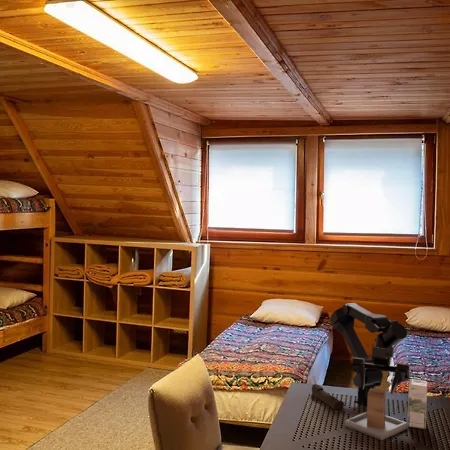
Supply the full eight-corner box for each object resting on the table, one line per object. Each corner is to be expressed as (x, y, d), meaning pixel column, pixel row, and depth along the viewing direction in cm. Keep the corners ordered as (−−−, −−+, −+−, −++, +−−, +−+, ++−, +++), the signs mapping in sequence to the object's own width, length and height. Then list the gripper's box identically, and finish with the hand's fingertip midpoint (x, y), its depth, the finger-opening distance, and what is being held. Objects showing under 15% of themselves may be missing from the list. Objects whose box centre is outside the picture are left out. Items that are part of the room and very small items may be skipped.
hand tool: (344, 411, 200) (344, 398, 199) (334, 413, 198) (334, 399, 198) (318, 393, 218) (319, 381, 217) (309, 394, 216) (309, 382, 216)
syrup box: (425, 423, 190) (427, 380, 189) (425, 429, 184) (427, 385, 184) (407, 420, 192) (408, 378, 191) (407, 427, 186) (408, 383, 185)
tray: (370, 415, 196) (370, 410, 195) (407, 428, 185) (407, 422, 185) (345, 426, 186) (345, 420, 186) (382, 440, 176) (382, 434, 176)
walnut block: (369, 420, 189) (370, 388, 188) (385, 423, 187) (385, 390, 186) (366, 426, 184) (367, 392, 184) (382, 429, 182) (383, 395, 182)
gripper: (352, 333, 194) (344, 374, 185) (410, 340, 187) (405, 383, 177) (357, 351, 202) (349, 391, 192) (412, 357, 194) (407, 400, 185)
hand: (377, 391), depth 186 cm, fingers open, 9 cm apart
